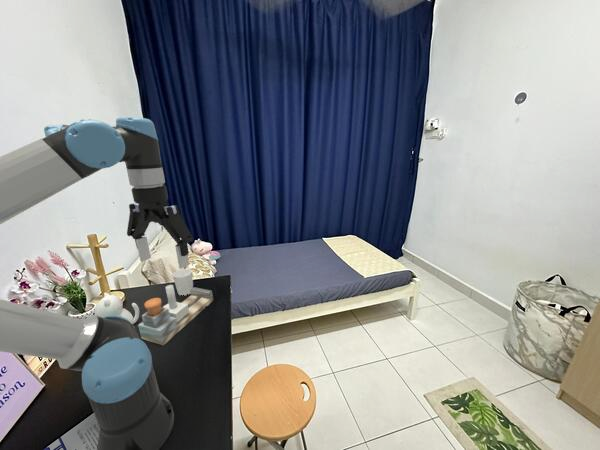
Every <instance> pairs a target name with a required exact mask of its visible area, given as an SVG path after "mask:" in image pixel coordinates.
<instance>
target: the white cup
mask: <svg viewBox="0 0 600 450" xmlns="http://www.w3.org/2000/svg"><path fill="white" fill-rule="evenodd" d="M172 277H173V280H174V285H175V288H176V292H177V294H178V295H179V296H181V295H182V296H183V295H184V296H188V295H191V292H190V289H191V288H193V287H194V279H193V270H192V269H190V268H182V269H181V268H180V269H178V270H176V271H174V272H173V274H172ZM187 294H188V295H187ZM184 296H183V297H184Z"/></svg>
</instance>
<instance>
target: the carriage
mask: <svg viewBox="0 0 600 450" xmlns="http://www.w3.org/2000/svg"><path fill="white" fill-rule="evenodd" d="M174 287H175V286H174V285H173V284H167V285H166V286H165V292H166V298H167V304H165V305H163V307H164V308H168V310H169V315H170V317H174V318H176V320H177V322H178V321H179V320H181V319H182V318H183V317H184V316H185V315H187V314H188V313H189V309H188V304H183V303H182V302H179V301H177V298H176V293H175V288H174Z"/></svg>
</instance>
